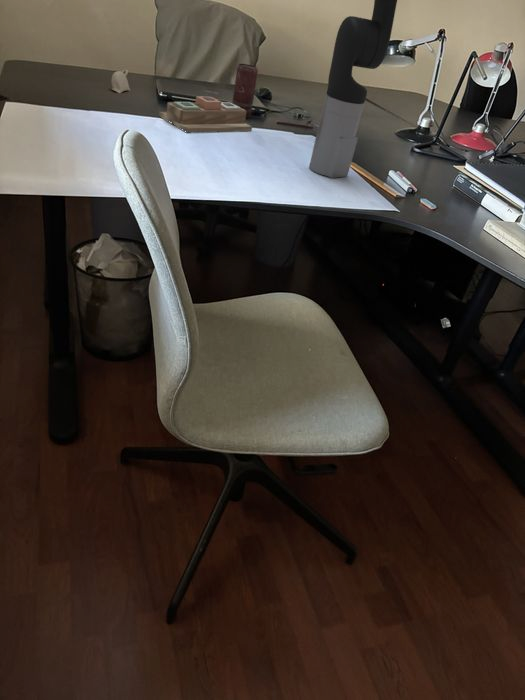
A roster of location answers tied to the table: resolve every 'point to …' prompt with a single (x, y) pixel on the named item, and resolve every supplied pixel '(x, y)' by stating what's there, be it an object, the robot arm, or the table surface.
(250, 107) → the can
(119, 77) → the decorative ornament
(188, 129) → the keypad board
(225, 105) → the cream key
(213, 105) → the terracotta key
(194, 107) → the sage key
